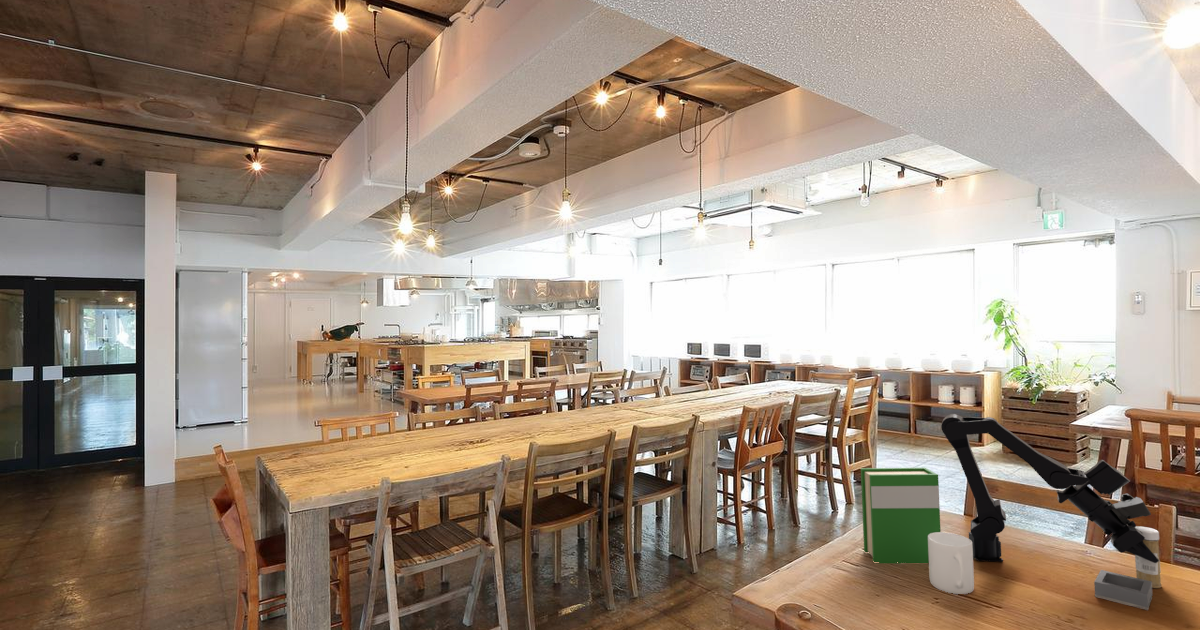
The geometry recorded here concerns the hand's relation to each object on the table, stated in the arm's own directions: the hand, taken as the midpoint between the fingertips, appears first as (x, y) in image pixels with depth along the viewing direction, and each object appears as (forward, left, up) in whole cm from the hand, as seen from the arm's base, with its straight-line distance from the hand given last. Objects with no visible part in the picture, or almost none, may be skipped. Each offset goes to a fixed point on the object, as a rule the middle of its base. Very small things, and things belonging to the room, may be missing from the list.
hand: (1154, 558), depth 138 cm
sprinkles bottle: (-1, +1, -7) cm, 7 cm away
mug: (-47, -5, -7) cm, 48 cm away
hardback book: (-53, +13, -7) cm, 55 cm away
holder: (-11, -6, -7) cm, 15 cm away
